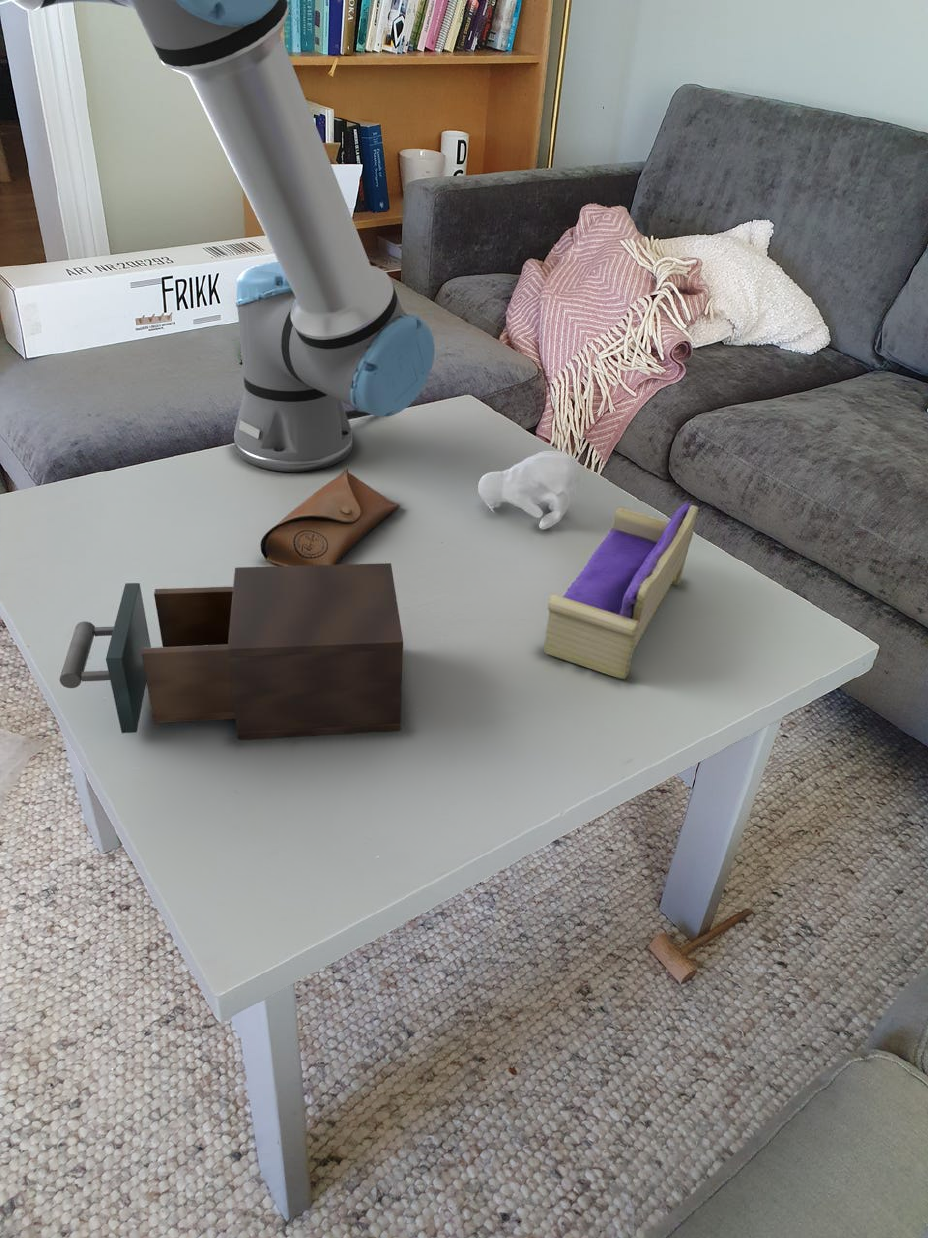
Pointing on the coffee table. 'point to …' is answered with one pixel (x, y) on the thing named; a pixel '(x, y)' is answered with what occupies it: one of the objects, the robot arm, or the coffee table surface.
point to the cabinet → (315, 650)
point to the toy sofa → (619, 591)
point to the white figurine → (534, 485)
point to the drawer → (163, 656)
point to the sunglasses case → (327, 524)
